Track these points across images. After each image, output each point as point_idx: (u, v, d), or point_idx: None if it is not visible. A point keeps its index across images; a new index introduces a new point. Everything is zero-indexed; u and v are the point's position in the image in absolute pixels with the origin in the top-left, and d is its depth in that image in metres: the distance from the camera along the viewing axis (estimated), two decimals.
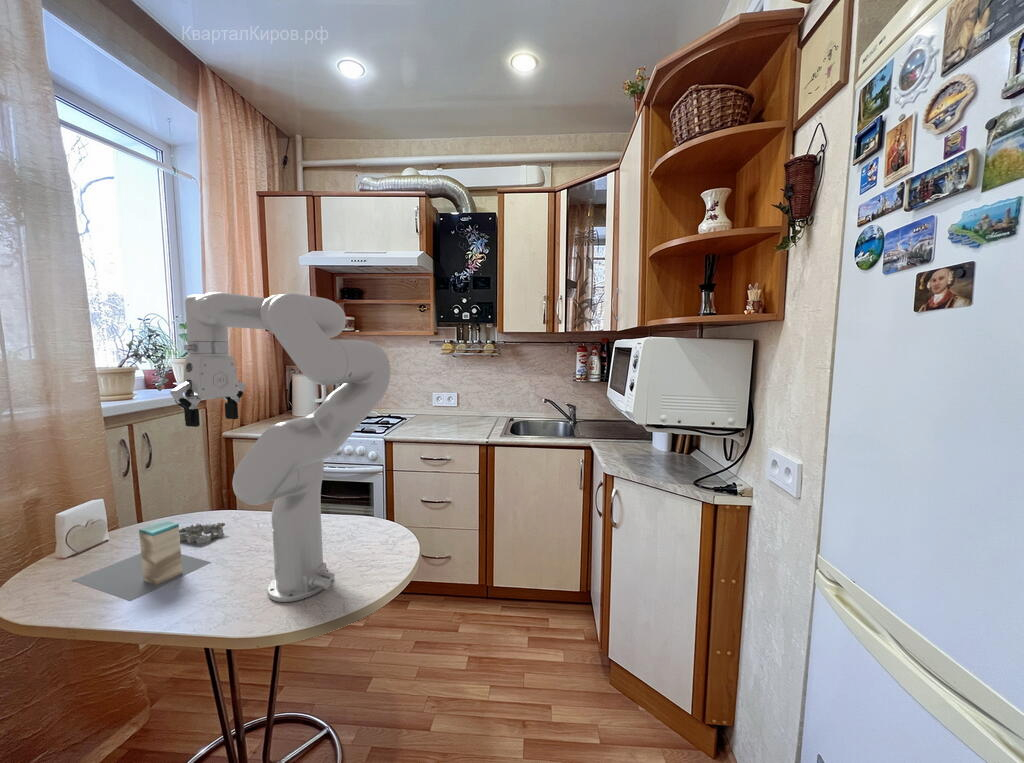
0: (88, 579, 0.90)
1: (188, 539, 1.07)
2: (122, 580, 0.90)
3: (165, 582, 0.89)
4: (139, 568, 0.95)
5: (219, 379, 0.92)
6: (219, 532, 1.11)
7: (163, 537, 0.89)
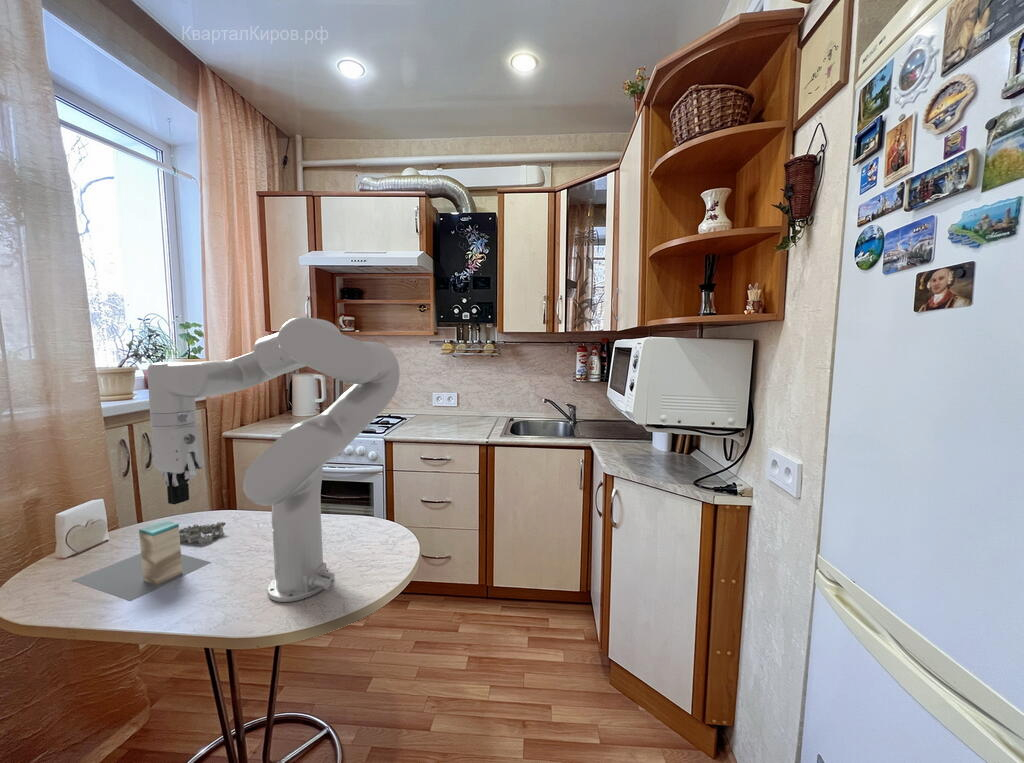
0: (88, 579, 0.90)
1: (189, 539, 1.07)
2: (122, 580, 0.90)
3: (165, 582, 0.89)
4: (139, 568, 0.95)
5: None
6: (220, 531, 1.11)
7: (163, 537, 0.89)
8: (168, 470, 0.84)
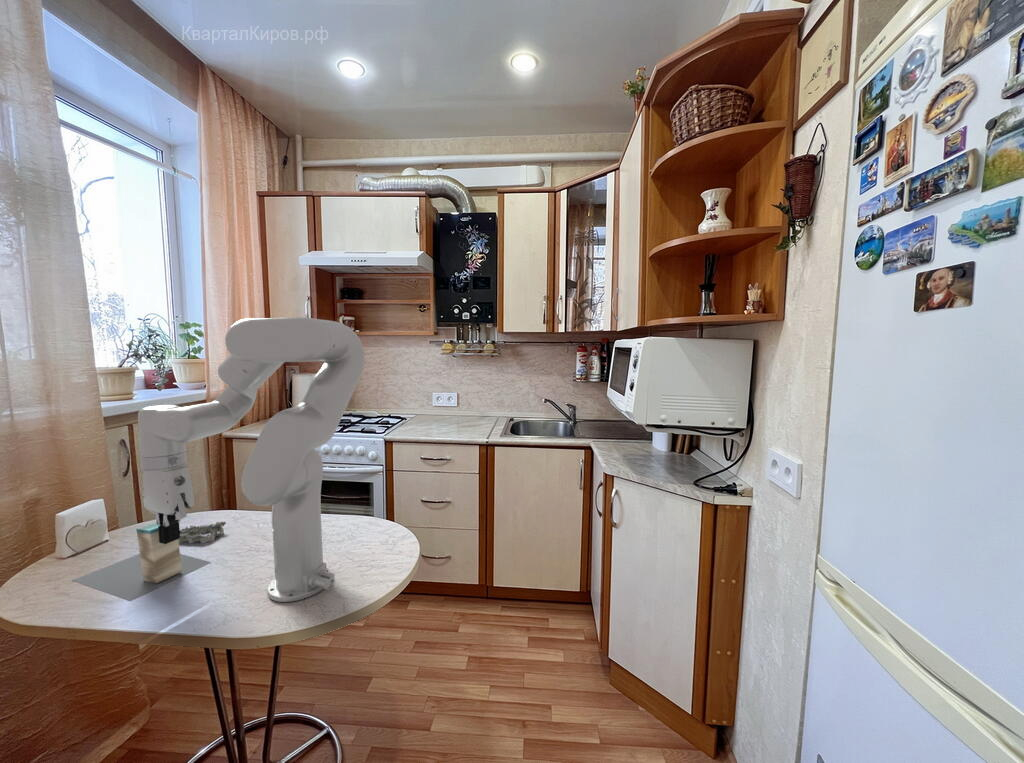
0: (88, 579, 0.90)
1: (190, 540, 1.07)
2: (122, 580, 0.90)
3: (165, 582, 0.89)
4: (139, 568, 0.95)
5: None
6: (221, 530, 1.11)
7: None
8: (159, 511, 0.86)
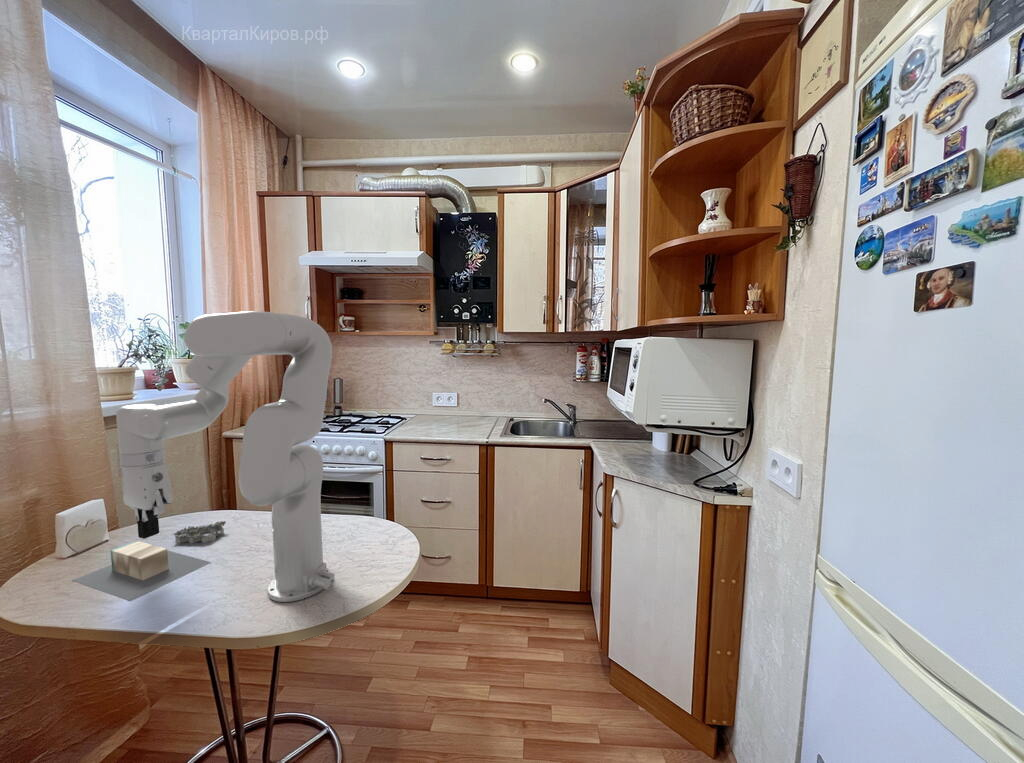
0: (88, 579, 0.90)
1: (190, 540, 1.07)
2: (122, 580, 0.90)
3: (165, 582, 0.89)
4: None
5: None
6: (222, 530, 1.12)
7: (125, 547, 0.95)
8: (137, 507, 0.89)
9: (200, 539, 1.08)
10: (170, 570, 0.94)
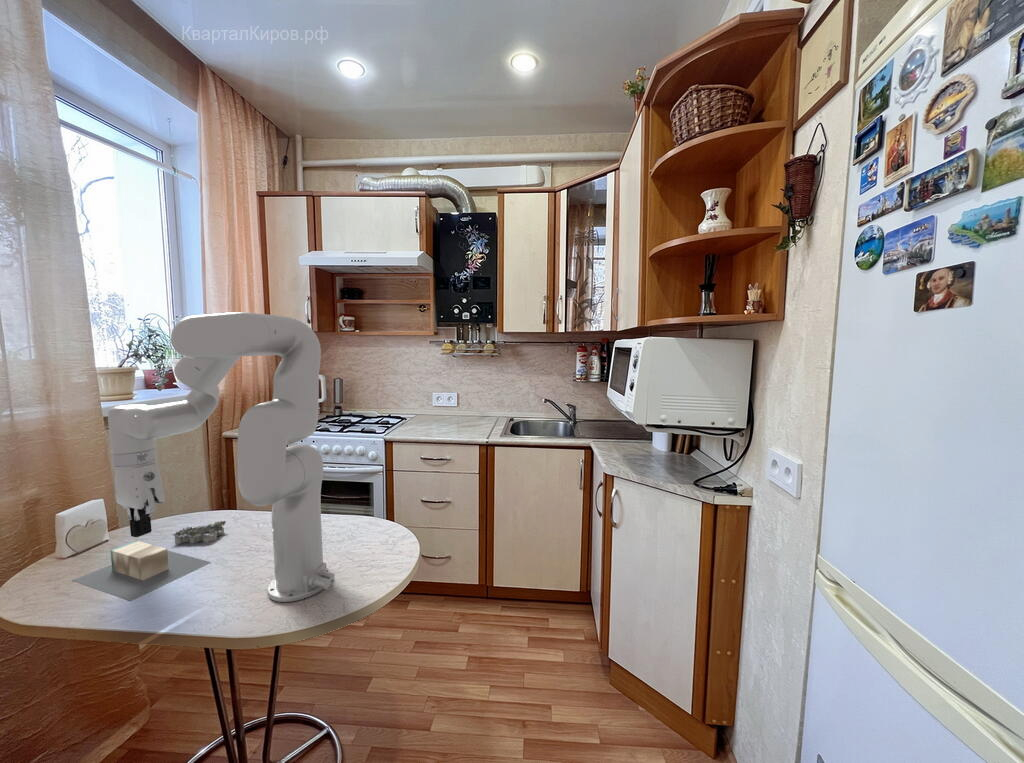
0: (88, 579, 0.90)
1: (191, 540, 1.07)
2: (122, 580, 0.90)
3: (165, 582, 0.89)
4: None
5: None
6: (222, 530, 1.12)
7: (125, 547, 0.95)
8: (130, 506, 0.90)
9: (201, 539, 1.08)
10: (170, 570, 0.94)
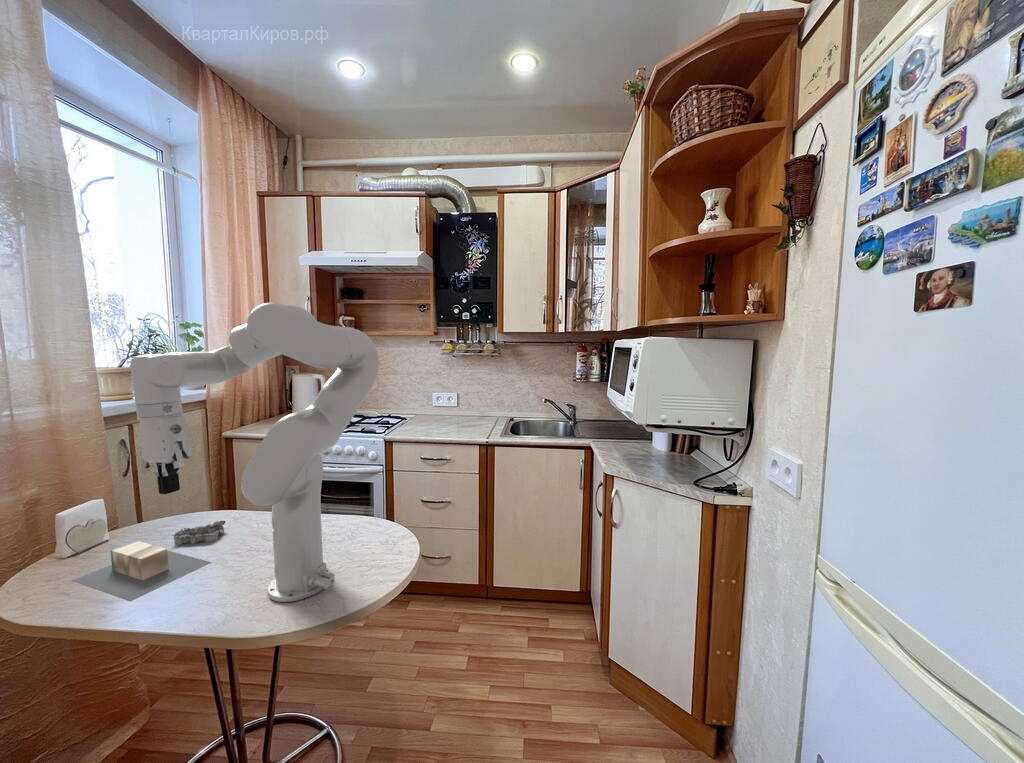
0: (88, 579, 0.90)
1: (193, 540, 1.07)
2: (122, 580, 0.90)
3: (165, 582, 0.89)
4: None
5: None
6: (222, 529, 1.12)
7: (125, 547, 0.95)
8: (157, 460, 0.85)
9: (202, 539, 1.08)
10: (170, 570, 0.94)
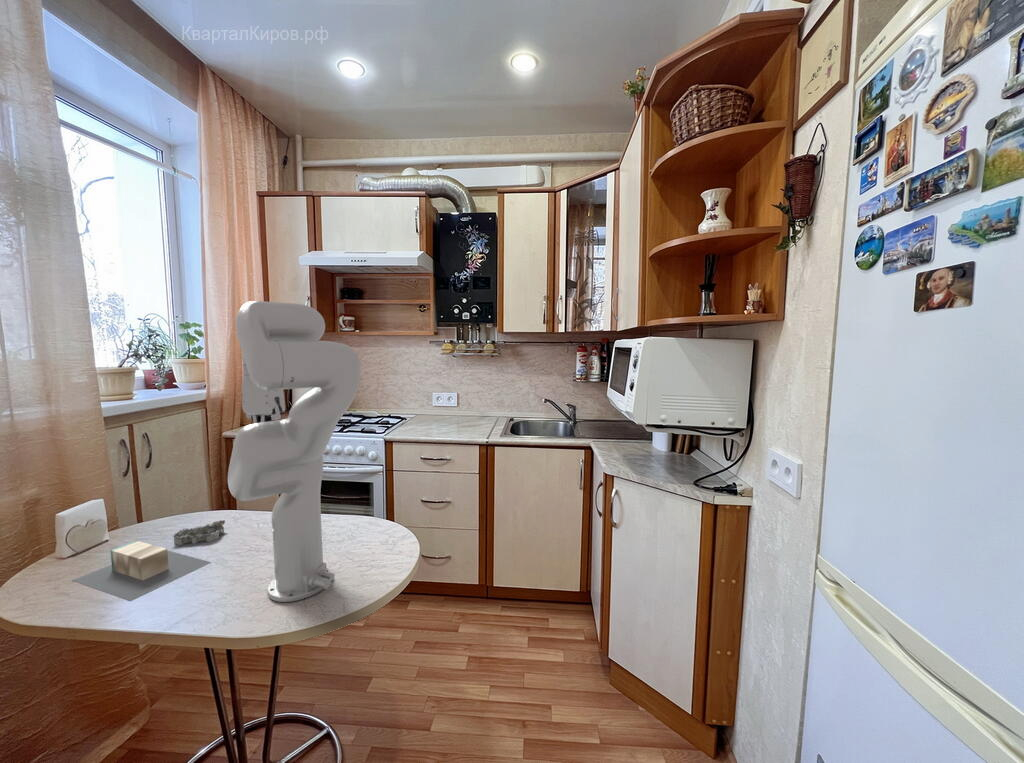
0: (88, 579, 0.90)
1: (194, 540, 1.07)
2: (122, 580, 0.90)
3: (165, 582, 0.89)
4: None
5: None
6: (223, 528, 1.13)
7: (125, 547, 0.95)
8: (258, 412, 1.01)
9: (203, 539, 1.09)
10: (170, 570, 0.94)
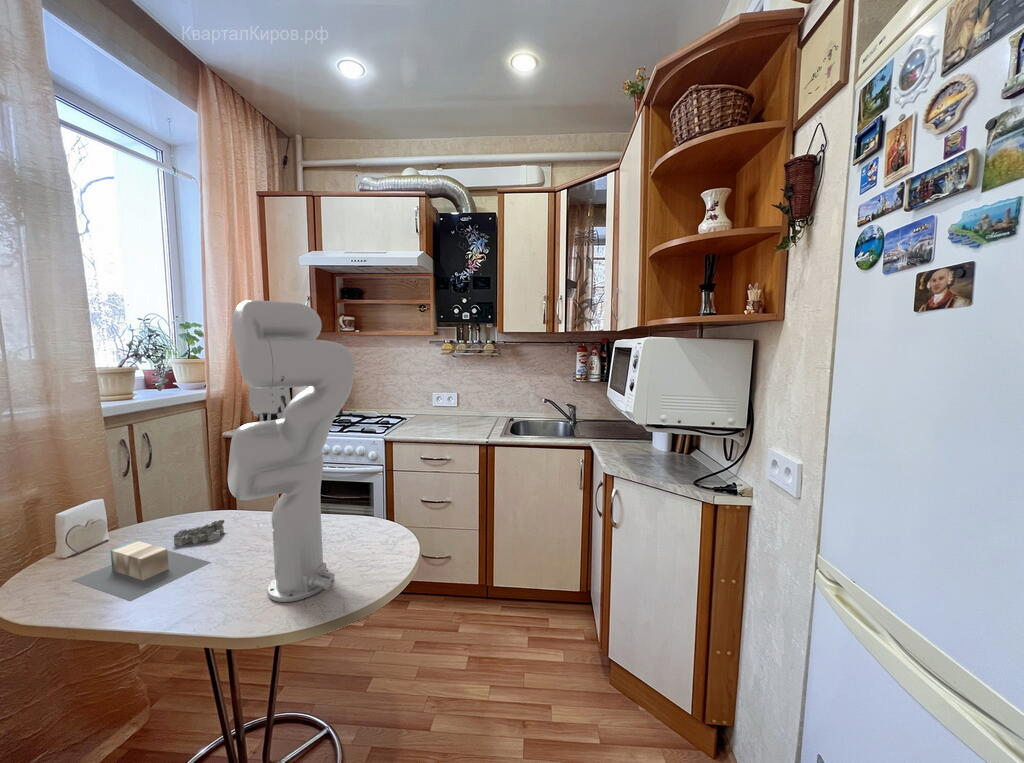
0: (88, 579, 0.90)
1: (195, 540, 1.07)
2: (122, 580, 0.90)
3: (165, 582, 0.89)
4: None
5: None
6: (223, 528, 1.13)
7: (125, 547, 0.95)
8: (264, 411, 1.02)
9: (204, 538, 1.09)
10: (170, 570, 0.94)
